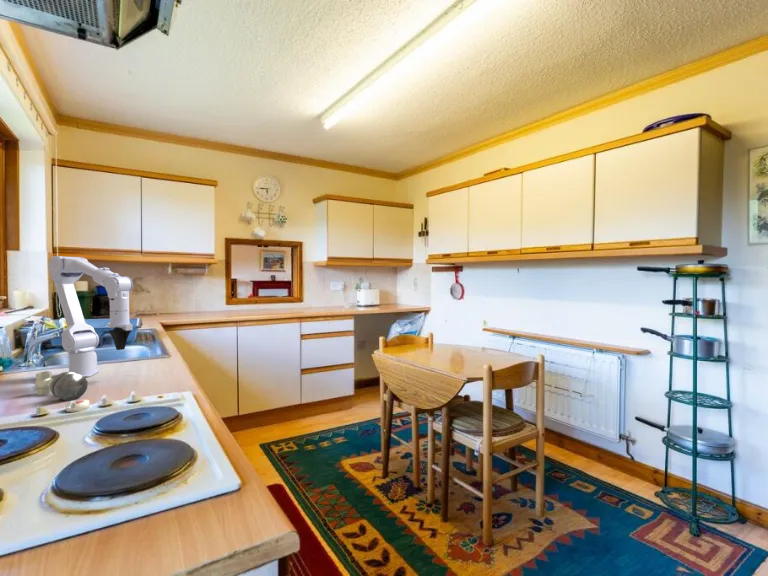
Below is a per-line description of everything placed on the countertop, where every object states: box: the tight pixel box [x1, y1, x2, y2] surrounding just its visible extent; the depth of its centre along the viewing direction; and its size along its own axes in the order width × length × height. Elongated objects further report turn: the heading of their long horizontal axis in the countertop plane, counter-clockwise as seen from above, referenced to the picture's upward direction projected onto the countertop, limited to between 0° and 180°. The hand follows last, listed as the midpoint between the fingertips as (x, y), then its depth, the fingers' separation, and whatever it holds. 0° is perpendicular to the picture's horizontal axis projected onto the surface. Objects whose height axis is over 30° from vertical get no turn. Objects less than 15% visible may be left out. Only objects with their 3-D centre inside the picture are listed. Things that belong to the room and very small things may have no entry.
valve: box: [34, 370, 54, 396], centre depth 123 cm, size 7×7×12 cm
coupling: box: [50, 371, 89, 402], centre depth 118 cm, size 5×8×8 cm, turn 145°
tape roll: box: [65, 399, 90, 413], centre depth 109 cm, size 5×5×2 cm
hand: (120, 349), depth 141 cm, fingers closed
